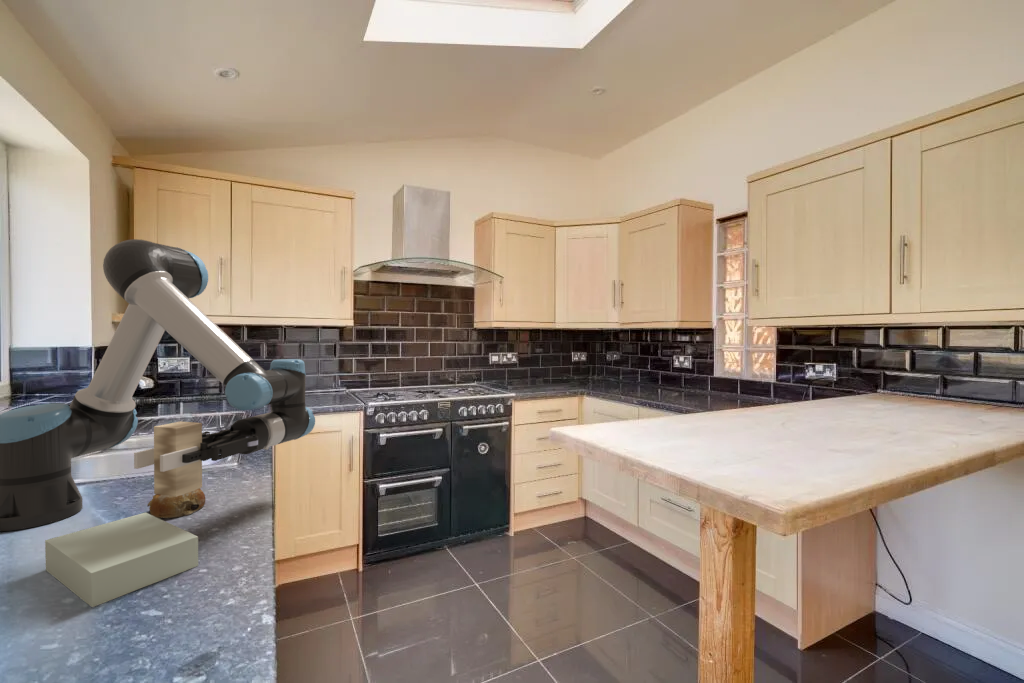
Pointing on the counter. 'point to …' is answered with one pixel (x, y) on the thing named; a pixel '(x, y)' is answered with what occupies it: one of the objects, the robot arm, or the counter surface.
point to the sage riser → (120, 557)
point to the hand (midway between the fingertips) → (148, 462)
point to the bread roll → (176, 504)
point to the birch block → (171, 441)
